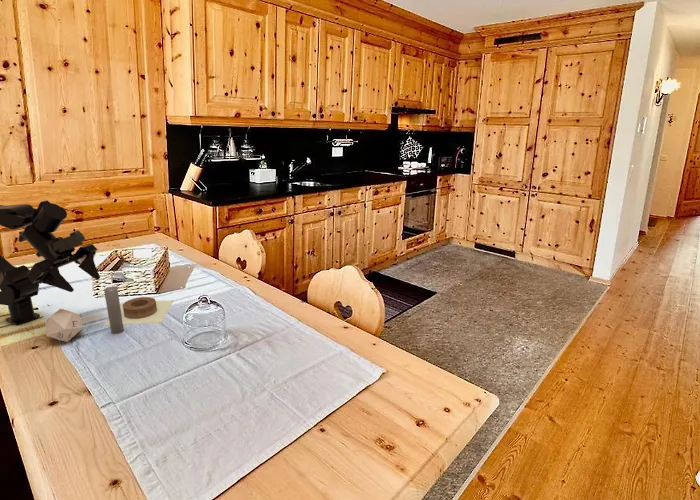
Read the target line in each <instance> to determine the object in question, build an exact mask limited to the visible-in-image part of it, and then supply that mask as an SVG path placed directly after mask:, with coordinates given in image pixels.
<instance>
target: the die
mask: <svg viewBox="0 0 700 500" xmlns="http://www.w3.org/2000/svg"><path fill="white" fill-rule="evenodd" d="M44 327H45V334H46V336H47V337H49V338H52V339H55V340H59V341H62V342H65V343H69V342H70V341H71V339H73V338H74V337H75V336H76V335H77V334H78V333H79V332H80V331H81V330H83V328H84V326H83V322H82V318H81V315H80V314H78V313H76V312H74V311H71V310H67V309H64V308H59V309H58V310H56V311H55V312H54V313H53V314H51V316H50V317H48V318H47V319H46V320H45V322H44Z"/></svg>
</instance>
